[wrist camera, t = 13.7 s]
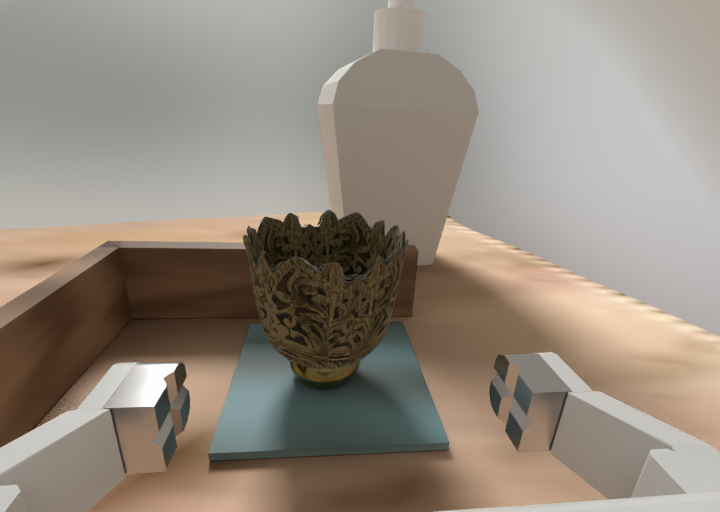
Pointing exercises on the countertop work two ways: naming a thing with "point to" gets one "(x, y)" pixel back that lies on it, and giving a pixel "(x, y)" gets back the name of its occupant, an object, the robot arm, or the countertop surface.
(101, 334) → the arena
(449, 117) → the soap bottle
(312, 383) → the cup
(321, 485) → the countertop surface
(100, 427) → the robot arm
